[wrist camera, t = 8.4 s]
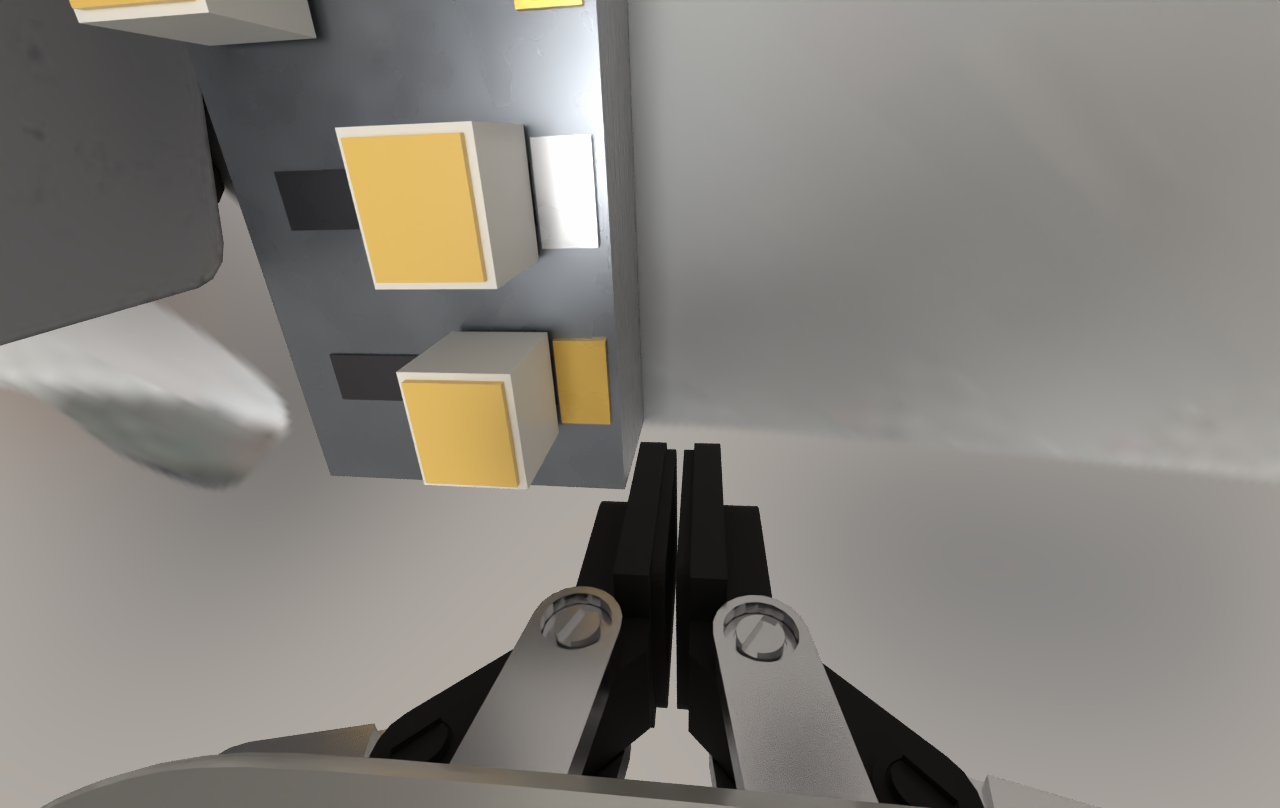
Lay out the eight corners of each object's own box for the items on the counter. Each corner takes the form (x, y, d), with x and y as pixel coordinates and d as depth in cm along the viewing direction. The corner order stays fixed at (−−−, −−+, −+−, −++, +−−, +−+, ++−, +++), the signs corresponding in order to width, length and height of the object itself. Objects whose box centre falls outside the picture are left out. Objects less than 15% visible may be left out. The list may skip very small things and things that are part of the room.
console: (619, -198, 15) (573, -349, 10) (643, 421, 23) (624, 492, 19) (256, -153, 16) (73, -267, 12) (401, 413, 25) (327, 478, 20)
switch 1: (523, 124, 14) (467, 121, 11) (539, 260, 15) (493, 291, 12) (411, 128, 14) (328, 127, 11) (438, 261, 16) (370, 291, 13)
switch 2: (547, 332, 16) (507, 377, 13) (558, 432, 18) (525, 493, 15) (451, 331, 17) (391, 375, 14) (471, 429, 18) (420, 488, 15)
